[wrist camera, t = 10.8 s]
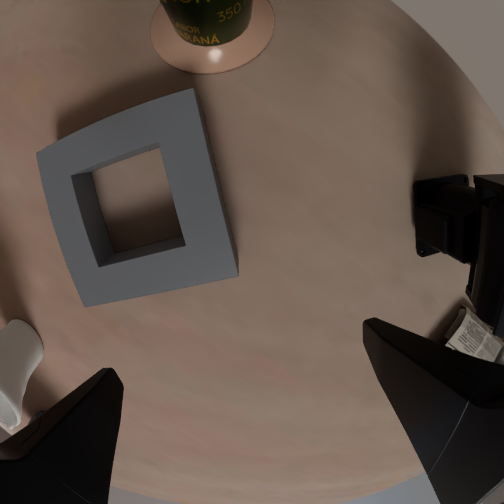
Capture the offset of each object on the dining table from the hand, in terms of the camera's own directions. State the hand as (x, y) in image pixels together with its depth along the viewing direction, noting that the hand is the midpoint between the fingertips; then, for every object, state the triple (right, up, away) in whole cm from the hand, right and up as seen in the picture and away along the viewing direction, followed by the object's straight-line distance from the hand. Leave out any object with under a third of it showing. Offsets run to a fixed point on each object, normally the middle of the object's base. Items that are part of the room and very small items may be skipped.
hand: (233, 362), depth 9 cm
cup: (-24, -6, +14) cm, 28 cm away
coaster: (-2, +20, +6) cm, 21 cm away
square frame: (-8, +7, +10) cm, 15 cm away
